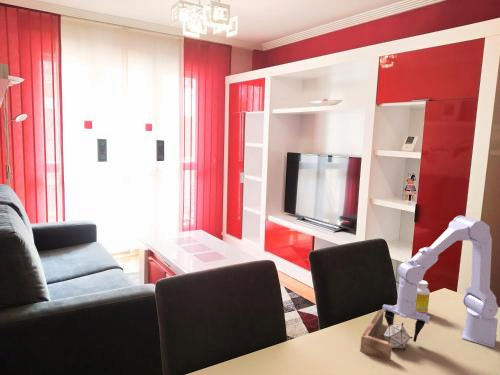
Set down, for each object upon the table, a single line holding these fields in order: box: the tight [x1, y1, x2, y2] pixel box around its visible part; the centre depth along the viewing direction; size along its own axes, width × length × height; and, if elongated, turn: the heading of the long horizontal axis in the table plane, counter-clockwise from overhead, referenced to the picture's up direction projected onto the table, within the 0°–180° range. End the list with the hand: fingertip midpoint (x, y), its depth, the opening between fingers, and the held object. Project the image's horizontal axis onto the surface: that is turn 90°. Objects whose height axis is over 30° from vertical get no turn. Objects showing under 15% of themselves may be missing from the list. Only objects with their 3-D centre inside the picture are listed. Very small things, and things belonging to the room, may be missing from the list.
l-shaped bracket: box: [359, 309, 393, 362], centre depth 127 cm, size 9×24×5 cm, turn 148°
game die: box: [380, 322, 414, 351], centre depth 122 cm, size 9×8×10 cm
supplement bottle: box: [415, 279, 431, 316], centre depth 148 cm, size 7×7×13 cm
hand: (402, 336), depth 127 cm, fingers open, 7 cm apart
